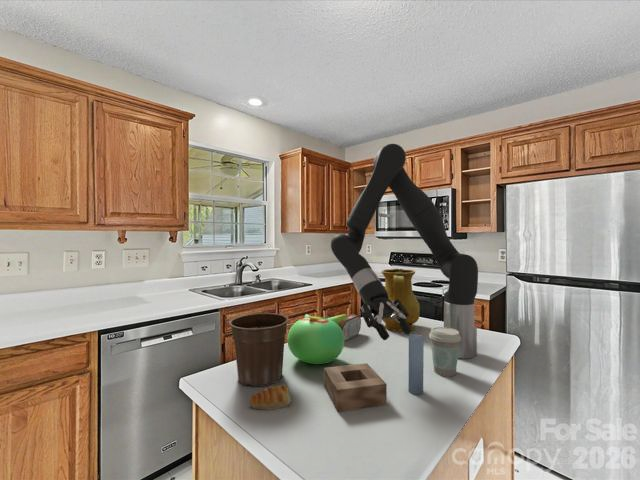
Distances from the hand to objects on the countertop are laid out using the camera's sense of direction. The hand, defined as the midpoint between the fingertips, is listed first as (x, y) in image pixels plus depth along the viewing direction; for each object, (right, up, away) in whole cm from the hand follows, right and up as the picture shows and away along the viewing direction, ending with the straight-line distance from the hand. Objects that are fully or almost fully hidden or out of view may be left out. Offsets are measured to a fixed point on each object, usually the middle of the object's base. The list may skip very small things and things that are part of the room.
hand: (398, 335), depth 85 cm
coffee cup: (+15, -13, +7) cm, 21 cm away
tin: (-10, -12, +36) cm, 40 cm away
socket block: (-13, -13, -6) cm, 19 cm away
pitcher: (+12, -12, +49) cm, 52 cm away
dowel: (+3, -13, -5) cm, 14 cm away
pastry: (-32, -13, -10) cm, 36 cm away
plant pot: (-38, -13, +4) cm, 40 cm away
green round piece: (-22, -13, +15) cm, 29 cm away
